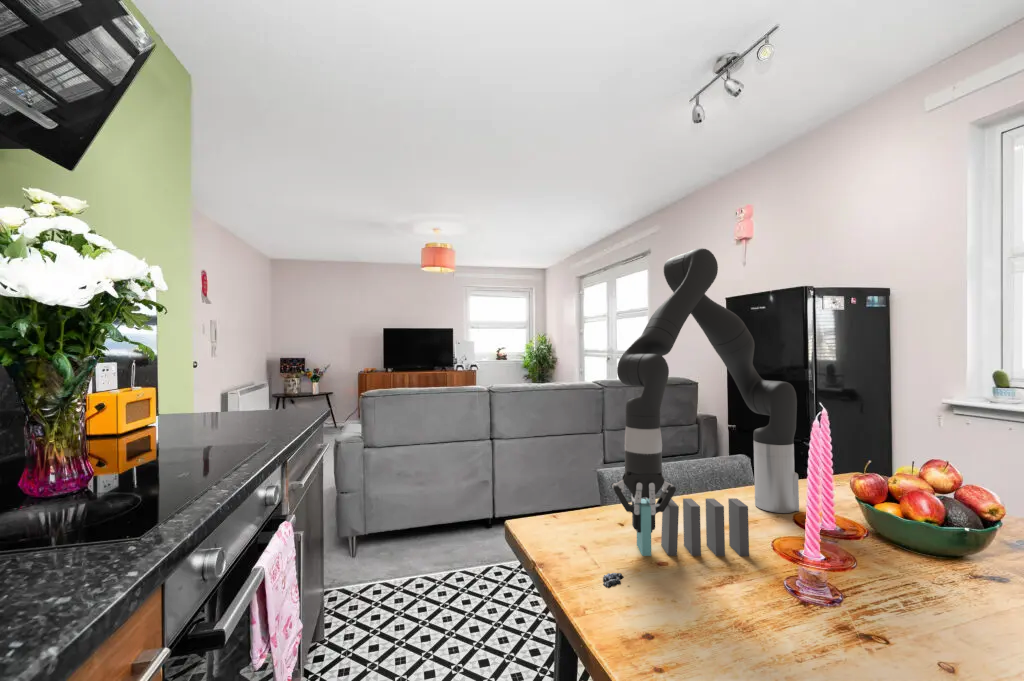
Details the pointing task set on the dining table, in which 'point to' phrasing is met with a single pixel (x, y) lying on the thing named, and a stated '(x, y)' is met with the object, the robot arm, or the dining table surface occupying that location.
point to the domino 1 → (670, 528)
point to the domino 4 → (738, 527)
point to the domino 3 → (715, 527)
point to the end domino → (645, 529)
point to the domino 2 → (692, 526)
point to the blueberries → (612, 579)
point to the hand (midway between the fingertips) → (643, 530)
